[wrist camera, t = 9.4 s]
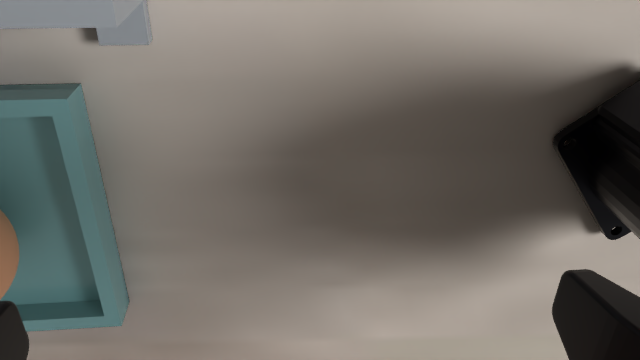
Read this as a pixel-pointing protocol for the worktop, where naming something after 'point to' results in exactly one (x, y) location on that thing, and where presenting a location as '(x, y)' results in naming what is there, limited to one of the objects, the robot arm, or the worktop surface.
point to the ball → (7, 254)
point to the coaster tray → (57, 211)
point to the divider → (83, 18)
